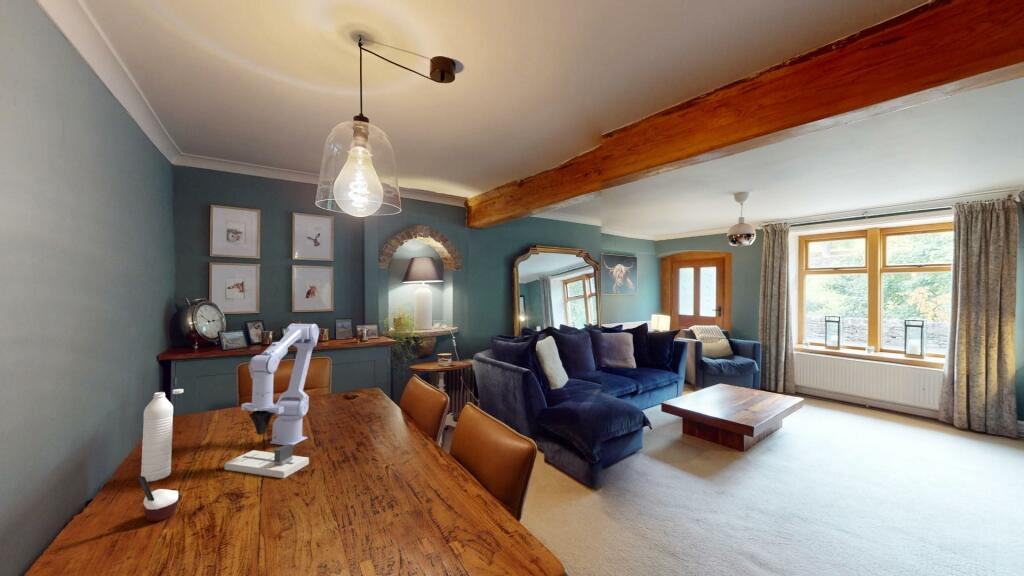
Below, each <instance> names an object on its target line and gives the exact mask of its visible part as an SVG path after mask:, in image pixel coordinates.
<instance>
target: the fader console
mask: <svg viewBox="0 0 1024 576" xmlns="http://www.w3.org/2000/svg"><path fill="white" fill-rule="evenodd" d="M274 457H275V452H271V451H270V452H269V451H262V450H261V451H260V450H254V449H252V450H250V451H248V452H246V453H244V454H241V455H239V456H237V457H234V458H232V459H231V460H228V461H226V462H224V470H227V471H232V472H240V473H248V474H254V475H258V476H259V475H260V476H266V477H272V478H278V479H279V478H280V479H285V478H288V477H289V476H290V475H292V474H294V473H296V472H297V471H299V470H300V469H302V468H305V467H306V466H307V465H309V464H310V457H308V456H307V457H306V456H298V455H293V456H292V457H293V460H291V461H289V462H287V463H285V464H283V465H278V464H274Z"/></svg>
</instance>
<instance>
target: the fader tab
mask: <svg viewBox="0 0 1024 576" xmlns="http://www.w3.org/2000/svg"><path fill="white" fill-rule="evenodd" d="M293 447H294V445H293V444H286V445H281V446H280V447H278V448H275V449H274V453H275V457H274V464H278V465H283V464H285V463H287V462H289V461H291V460H293V457H292V456H294V454H293V452H294V451H293V450H294V448H293Z"/></svg>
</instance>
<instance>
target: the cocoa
mask: <svg viewBox="0 0 1024 576" xmlns="http://www.w3.org/2000/svg"><path fill="white" fill-rule="evenodd" d="M137 479H138V481H139V483H140V486H141V487H142V490H143V492H144V494H145V497H144V500H143V503H142V504H143V510H144V511H143V513H144V516H145V518H146V519H147V520H148V521H150V522H161V521H164V520H166V519H168V518H170V517H171V516H172V515H174V513H175V512H177V511H176V510H177V509H178V506H179V503H180V501H181V500H182V499H181V498H182V496H181V494H179V491H178V490H172V489H167V488H164V489H163V488H158V489H155V490H153V491H152V490H151V488H150V486H149V482H147V481H146V478H145V477H144V476H141V475H139V476H138V477H137Z"/></svg>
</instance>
